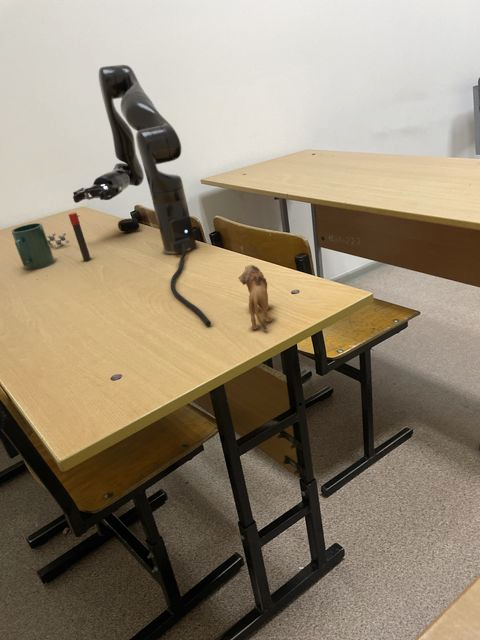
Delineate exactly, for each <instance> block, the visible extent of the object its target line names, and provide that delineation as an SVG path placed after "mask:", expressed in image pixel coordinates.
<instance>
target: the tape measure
mask: <svg viewBox="0 0 480 640" xmlns="http://www.w3.org/2000/svg"><path fill="white" fill-rule="evenodd" d="M117 226H118V229H119V231H120V232H122V233H126V234H127V233H130V232H133V231H136V230H138V229H140V223H139V221H138V219H137V218H136V217H130V218H124V219H121V220H119V221H118V223H117Z"/></svg>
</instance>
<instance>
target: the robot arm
mask: <svg viewBox="0 0 480 640" xmlns="http://www.w3.org/2000/svg"><path fill="white" fill-rule="evenodd" d="M137 77H138V76H137V75H136V73H135V71H134V70H133V68H132V67H131V66H130V65H127V64H116V65H107V66H106V65H105V66H101V67H100V68H99V69H98V83H99V87H100V88H99V89H100V92H101V97H102V100H103V101H102V102H103V104H104V107H105V108H104V109H105V113H106V116H107V120H108V123H109V127H110V130H111V135H112V140H113V141H112V142H113V147H114V154H115V157H116V159H117V160H118V161H120V162H117V163H115V164H114V166H113V168H112V170H111V171H108V172H106V173H104V174H102V175H100V176H98V177H96V178H95V179H94V181H93V184H92V185H91V186H89V187H81V188H79V189H77V190H76V191H73V192H72V195H73V196H72V199H73V202H74V203H76V204H77V203H80V202H82V201H84V200H88V201H89V200H93V199H99V200H100V201H109V200H112V199H113V198H115V197H116V196H118V195H120V194H121V193H122V192H123V191H124V190H126V189H127V188H129V186H134V187H139V186H141V185H142V183H143V182H144V179H145V177H146V181H147V184H148V189H149V193H150V197H151V201H152V205H153V209H154V213H155V217H156V222H157V226H158V229H159V235H160V238H161V242H162V246H163V252H164V253H165V254H168V255H180V258H179V262H178V268H177V270H176V271H175V272H174V274H173V275H172V276H171V279H170V290H171V292H172V294H173V295H174V297H176V299H178V301H180V302H181V303H182V304H184V306H186V307H187V308H189V309H191V310H192V311H193V312H195V313H196V314H197V315H198V317H200V318H201V320H202V321H203V322H204V324H205V325H206V326H207V327H208V326H209V327H210V326H211V324H212V322H211V320H209V318H208V317H207V316H206V315H205V313H204V312H203V311H202V310H201V309H200V308H199V307H197V306H196V305H195V304H193V303H192V302H190V301H189V300H187V298H185V297H183V296H182V295H181V294H180V293H179V292H178V291H177V288H176V280H177V278H178V276H179V275H180V274H181V272H182V271H183V268H184V261H185V259H186V255H187V252H189V251H192V250H195V249H197V248H198V246H197V243H196V237H195V233H194V229H193V228H194V226H193V224H192V223H193V222H192V219H191V215H190V211H189V205H188V202H187V198H186V197H187V196H186V193H185V187H184V183H183V179H182V177H181V175H178V174H175V173H167V172H164V171H162V170H159V168H158V166H157V165H161V164H165V163H166V164H167V163H169V162H170V163H171V162H175V161H177V160H178V159H179V158H180V157H181V154H182V143H181V142H182V141H181V140H180V137H179V134H178V133H177V131H176V129H175V128H174V127H173V125H172V124H171V123H170V122H169V121H168V120H167V119H166V118H165V117H164V116H163V115H162V114H161V113H160V111H159V110H158V108H157V107H156V106H155V104H154V102H153V100H152V99H151V98H150V97H149V95H148V94H147V93H146V91H145V90H144V88H143V87H142V85H141V83H140V81H139V79H138V78H137ZM120 99H121V100H120ZM114 100H120V111H121V114H122V115H121V114H120V112H119V111H118V109H117V107H116V105H115V101H114ZM123 117H124V118H123ZM132 129H133V130H135V131H137V132H136V135H135V136H134V131H133V130H132ZM135 140H136V142H135ZM136 146H137V149H138V153H139V157H140V159H141V162H142V164H141V162H140V159H139V157H138V154H137V149H136ZM142 166H143V167H142Z"/></svg>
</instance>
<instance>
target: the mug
mask: <svg viewBox="0 0 480 640" xmlns="http://www.w3.org/2000/svg"><path fill="white" fill-rule="evenodd" d="M10 232H11V235H12V237H13V240H14V245H15V247H16V250H17V252H18V255H19V257H20V260H21V264H22V266H24V268H25V270H38V269H42V268H46V267H48V266H50V265H52V264H54V263H55V257H54V255H53V252H52V249H51V246H50V245H49V243H48V240H49V239H48V237H47V235H46V232H45V229H44V226H43V223H40V222H35V223H28V224H23V225H21V226H17V227H15V228H13V229H11V231H10Z"/></svg>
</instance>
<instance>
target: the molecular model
mask: <svg viewBox="0 0 480 640" xmlns="http://www.w3.org/2000/svg"><path fill="white" fill-rule="evenodd" d="M56 235H57V234H56V232H52V235H50V234H48V235H46V237H47V240H48V243H49V246H50V247H52V246H53V245H54V244H53V243H52V242H54V241H55V244H56V245H55V249H59V247H60V246H61V247H62V246H64V243H63V242H65V243H66V244H69V242H70V240H69V239H66V236H67V233H66V232H62V235H61V234H58V236H57V238H58V239H57V240H56V238H55V236H56ZM59 239H60V240H59Z"/></svg>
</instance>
